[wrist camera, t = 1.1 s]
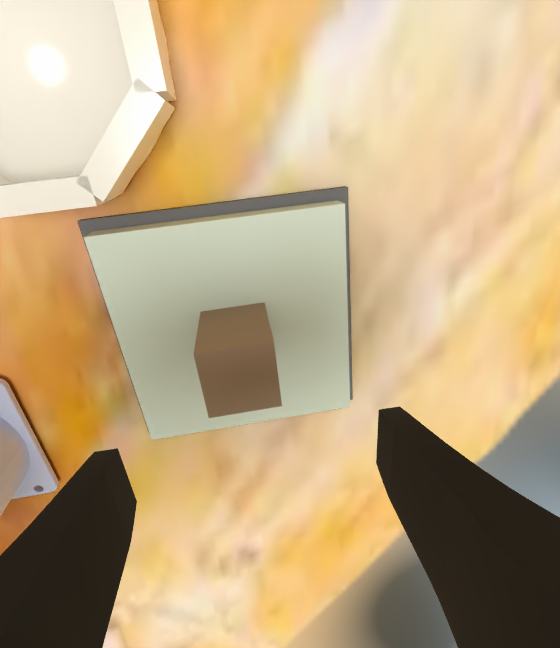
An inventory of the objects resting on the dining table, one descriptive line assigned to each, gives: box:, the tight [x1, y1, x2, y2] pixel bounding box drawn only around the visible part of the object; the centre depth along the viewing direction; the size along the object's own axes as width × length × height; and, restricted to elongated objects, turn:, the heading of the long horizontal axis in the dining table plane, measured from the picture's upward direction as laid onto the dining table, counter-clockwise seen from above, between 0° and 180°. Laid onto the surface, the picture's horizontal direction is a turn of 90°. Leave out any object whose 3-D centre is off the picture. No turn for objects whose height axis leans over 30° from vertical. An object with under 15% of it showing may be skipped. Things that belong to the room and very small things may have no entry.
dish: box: [0, 0, 176, 218], centre depth 12 cm, size 10×10×3 cm
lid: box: [84, 200, 350, 440], centre depth 17 cm, size 11×11×5 cm
